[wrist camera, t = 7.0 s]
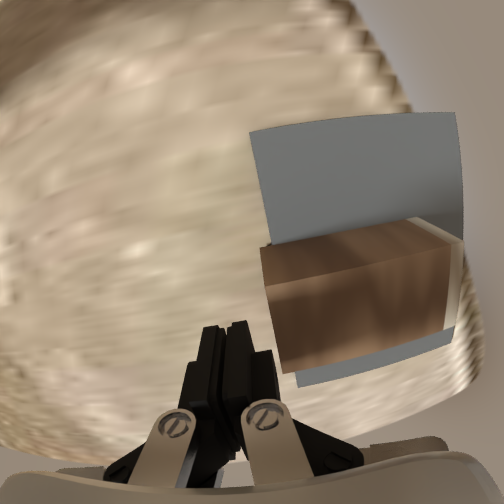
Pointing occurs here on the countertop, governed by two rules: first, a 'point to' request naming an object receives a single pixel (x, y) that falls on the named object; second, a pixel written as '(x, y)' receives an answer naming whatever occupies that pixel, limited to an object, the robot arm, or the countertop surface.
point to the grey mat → (361, 193)
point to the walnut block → (361, 290)
